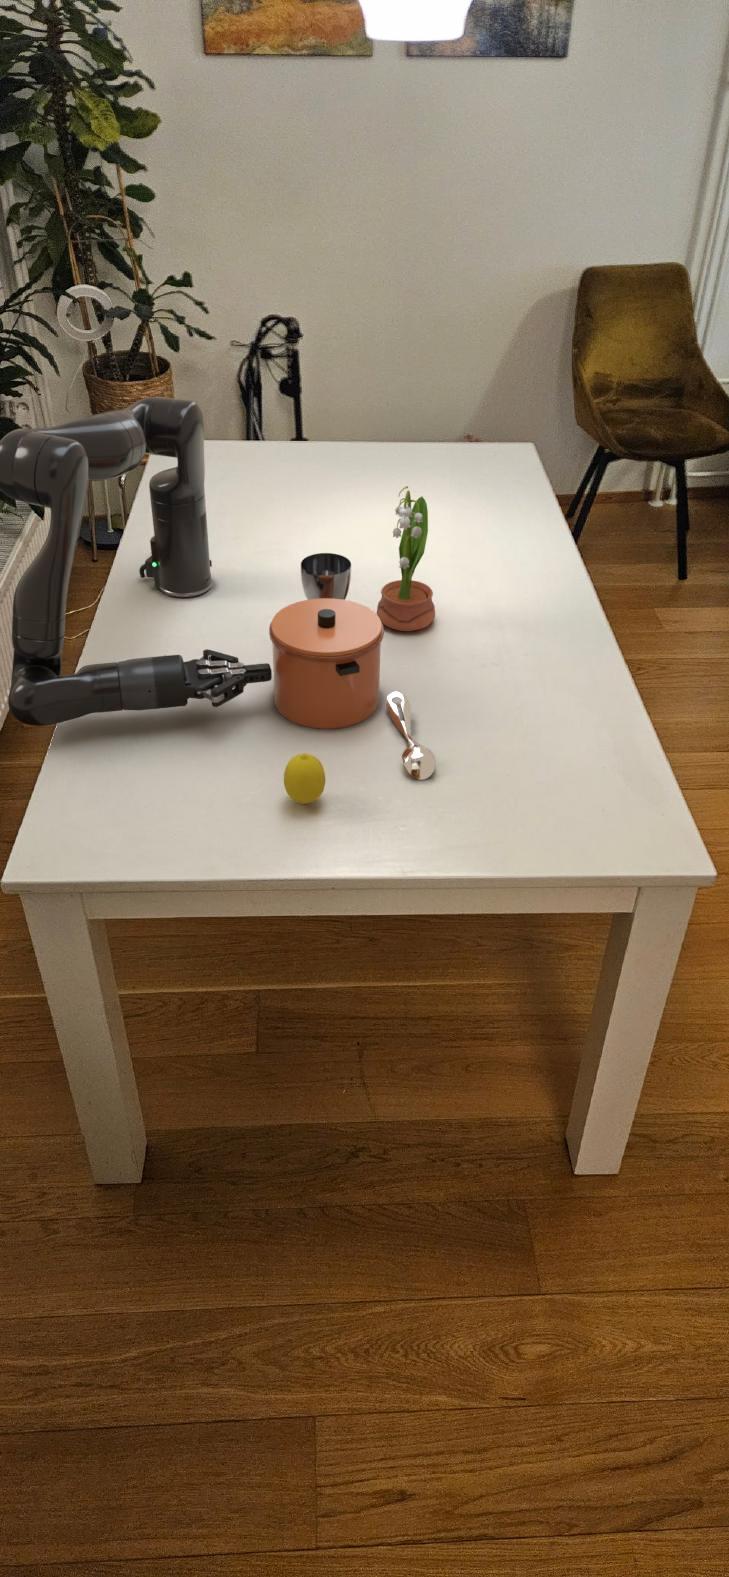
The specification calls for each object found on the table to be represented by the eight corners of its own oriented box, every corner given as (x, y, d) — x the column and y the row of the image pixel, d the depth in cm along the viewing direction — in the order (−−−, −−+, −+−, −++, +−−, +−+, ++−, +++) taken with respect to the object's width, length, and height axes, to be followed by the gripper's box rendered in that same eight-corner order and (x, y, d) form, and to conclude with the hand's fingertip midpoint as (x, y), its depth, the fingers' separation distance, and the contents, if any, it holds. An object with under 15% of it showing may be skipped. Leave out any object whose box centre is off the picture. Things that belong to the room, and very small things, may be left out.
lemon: (283, 791, 150) (282, 743, 145) (324, 789, 150) (324, 742, 146) (285, 816, 146) (283, 768, 141) (326, 814, 146) (326, 766, 141)
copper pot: (295, 743, 159) (292, 654, 150) (255, 678, 173) (251, 593, 164) (401, 721, 164) (405, 634, 155) (355, 659, 178) (356, 576, 169)
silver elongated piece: (380, 681, 165) (411, 679, 166) (379, 701, 168) (409, 698, 168) (406, 766, 151) (440, 763, 151) (405, 785, 153) (438, 783, 154)
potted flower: (428, 644, 182) (437, 501, 167) (369, 637, 184) (372, 495, 169) (438, 611, 192) (448, 472, 176) (382, 604, 193) (386, 466, 178)
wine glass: (356, 640, 183) (358, 557, 174) (340, 663, 177) (341, 579, 168) (312, 632, 185) (311, 549, 176) (294, 654, 179) (292, 570, 170)
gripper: (152, 685, 152) (277, 673, 155) (146, 638, 162) (263, 627, 165) (157, 730, 156) (278, 717, 159) (151, 681, 166) (265, 670, 170)
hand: (270, 671), depth 162 cm, fingers closed
